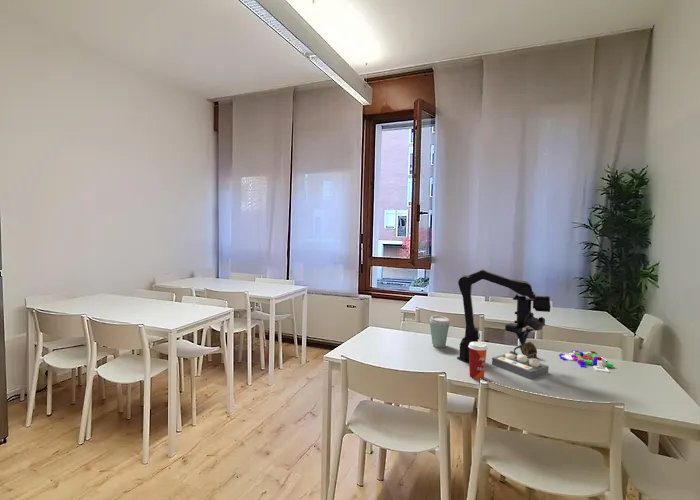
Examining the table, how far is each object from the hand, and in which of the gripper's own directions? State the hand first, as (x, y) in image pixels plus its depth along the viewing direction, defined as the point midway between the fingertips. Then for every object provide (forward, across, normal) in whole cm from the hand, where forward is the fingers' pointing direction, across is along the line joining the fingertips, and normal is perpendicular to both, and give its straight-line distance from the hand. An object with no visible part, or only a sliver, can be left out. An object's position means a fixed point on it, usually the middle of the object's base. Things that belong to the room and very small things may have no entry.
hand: (522, 344), depth 175 cm
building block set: (+12, +34, -10) cm, 37 cm away
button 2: (+8, -1, -6) cm, 10 cm away
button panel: (+10, -2, 0) cm, 11 cm away
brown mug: (+11, +13, +9) cm, 19 cm away
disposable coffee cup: (+10, -10, +41) cm, 43 cm away
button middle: (+8, 0, 0) cm, 8 cm away
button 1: (+10, 0, +6) cm, 11 cm away
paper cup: (+10, -26, +4) cm, 28 cm away
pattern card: (+7, -6, 0) cm, 10 cm away
